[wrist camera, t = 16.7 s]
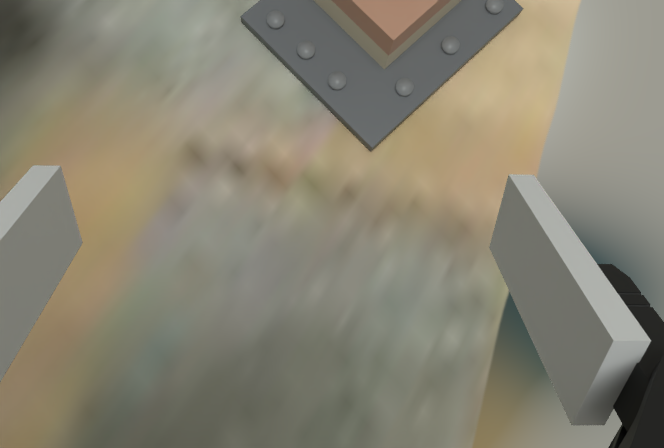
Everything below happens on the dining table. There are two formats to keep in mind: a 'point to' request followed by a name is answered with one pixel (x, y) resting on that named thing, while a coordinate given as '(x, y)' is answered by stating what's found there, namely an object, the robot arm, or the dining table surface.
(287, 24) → the build base
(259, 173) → the dining table surface
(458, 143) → the dining table surface
